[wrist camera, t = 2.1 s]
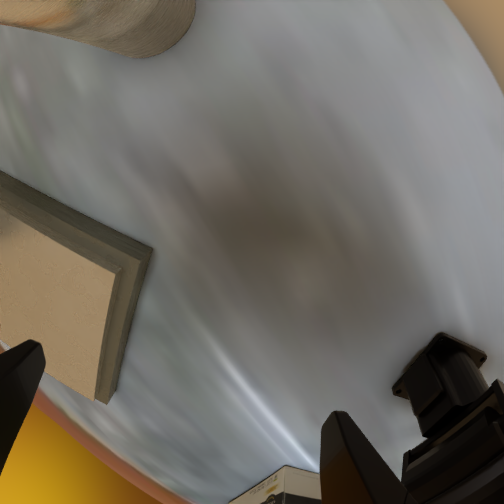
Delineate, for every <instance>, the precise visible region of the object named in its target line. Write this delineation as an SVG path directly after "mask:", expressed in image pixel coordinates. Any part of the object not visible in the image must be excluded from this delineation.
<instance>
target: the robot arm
mask: <svg viewBox="0 0 504 504" xmlns="http://www.w3.org/2000/svg"><path fill="white" fill-rule="evenodd" d="M441 339H442V340H441ZM440 340H441V341H440ZM486 359H487V355H486V354H485V353H484V352H483V351H481V350H478V349H476V348H474V347H472V346H470V345H468V344H466V343H464V342H462V341H459V340H457V339H455V338H453V337H451V336H449V335H447V334H445V333H440V334H438V335H437V336H436V337H435V338H434V340H433V341H432V342H431V343H430V345H429V346H428V347H427V348H426V350H425V351H424V352H423V353H422V355H421V356H420V357H419V358H418V359H417V360H416V362H415V363H414V364H413V365H412V366H411V367H410V369H409V370H408V371H407V372H406V373H405V374H404V375H403V377H402V378H401V379H400V380H399V381H398V382H397V383H396V384H395V385H394V386H393V388H392V392H393V395H395V396H398V397H402V398H405V399H408V400H410V403H411V406H412V410H413V413H414V415H415V416H416V417H417V420H418V423H419V427H420V430H421V433H422V436H423V437H426V438H427V439H426V440H425V441H424V442H422V443H421V444H419V445H418V446H416V447H415V448H413V449H412V450H409V451H407V452H406V453H404V454H403V467H402V478H401V482H400V480H399V479H398V478H397V477H396V475H395V474H394V473H393V471H392V470H391V469H390V468H389V466H388V465H387V464H386V462H385V461H384V460H383V459H382V457H381V456H380V455H379V453H378V452H377V451H376V450H375V448H374V447H373V446H372V444H371V443H370V442H369V441H368V439H367V438H366V437H365V435H364V434H363V433H362V431H361V430H360V429H359V428H358V426H357V425H356V424H355V422H354V421H353V420H352V418H351V417H350V416H349V414H348V413H347V412H345V411H333V412H332V413H331V414H330V415H329V417H328V418H327V420H326V421H325V423H324V424H323V426H322V429H321V450H320V486H321V501H322V504H504V384H503V383H502V382H501V381H500V380H498V379H496V380H495V381H494V382H493V383H492V384H491V385H492V386H490V387H488V385H487V383H486V381H485V380H484V378H483V376H482V374H481V373H480V371H479V368H480V367H481V366H482V364H483V363H484V362H485V361H486ZM45 366H46V359H45V355H44V351H43V347H42V344H41V343H40V342H37V341H35V340H33V339H28V340H26V341H24V342H22V343H21V344H19V345H17V346H15V347H13V348H11V349H9V350H7V351H5V352H3V353H2V354H0V475H1V472H2V470H3V467H4V465H5V462H6V460H7V458H8V455H9V453H10V450H11V448H12V446H13V443H14V441H15V439H16V437H17V434H18V432H19V430H20V428H21V426H22V423H23V421H24V419H25V417H26V415H27V413H28V411H29V409H30V406H31V404H32V401H33V399H34V396H35V393H36V390H37V388H38V385H39V382H40V380H41V377H42V375H43V372H44V369H45Z"/></svg>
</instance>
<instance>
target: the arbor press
mask: <svg viewBox="0 0 504 504" xmlns="http://www.w3.org/2000/svg"><path fill="white" fill-rule="evenodd" d="M152 250H153V249H152V248H150V247H148V246H146V245H144V244H142V243H140V242H137V241H135V240H133V239H131V238H129V237H127V236H125V235H123V234H121V233H119V232H117V231H115V230H113V229H111V228H109V227H107V226H105V225H103V224H101V223H99V222H97V221H95V220H93V219H91V218H89V217H87V216H85V215H83V214H81V213H79V212H77V211H75V210H73V209H71V208H69V207H67V206H66V205H64V204H62V203H60V202H58V201H56V200H54V199H52V198H50V197H48V196H46V195H44V194H43V193H41V192H39V191H37V190H35V189H33V188H31V187H29V186H27V185H26V184H24V183H22V182H20V181H18V180H16V179H15V178H13V177H11V176H9V175H7V174H5V173H4V172H2V171H0V339H1V340H2V341H3V342H5V343H6V344H7V345H8V346H10V347H11V348H13V347H15V346H17V345H19V344H21V343H22V342H24V341H26V340H28V339H33V340H35V341H37V342H40V343H41V344H42V347H43V351H44V355H45V359H46V366H45V369H44V371H45V372H46V373H48V374H49V375H51V376H52V377H54V378H55V379H57V380H59V381H60V382H62V383H63V384H65V385H67V386H68V387H70V388H71V389H73V390H75V391H76V392H78V393H80V394H82V395H83V396H85V397H87V398H88V399H90V400H92V401H94V400H95V399H97V400H99V401H101V402H103V403H104V404H106V405H107V404H108V403H109V401H110V399H111V397H112V396H113V394H114V392H115V391H116V386H117V381H118V377H119V372H120V368H121V363H122V359H123V355H124V350H125V346H126V342H127V338H128V334H129V330H130V326H131V322H132V319H133V315H134V311H135V307H136V304H137V300H138V297H139V293H140V290H141V286H142V283H143V279H144V276H145V272H146V269H147V266H148V263H149V259H150V256H151V253H152Z"/></svg>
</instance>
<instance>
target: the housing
mask: <svg viewBox="0 0 504 504" xmlns="http://www.w3.org/2000/svg"><path fill="white" fill-rule="evenodd" d="M194 14H195V0H0V24H1V25H7V26H12V27H18V28H23V29H28V30H33V31H38V32H42V33H47V34H51V35H55V36H59V37H63V38H67V39H71V40H75V41H78V42H82V43H86V44H89V45H92V46H96V47H99V48H102V49H106V50H109V51H112V52H115V53H118V54H121V55H124V56H127V57H131V58H147V57H152V56H155V55H158V54H160V53H162V52H164V51H166V50H167V49H169V48H170V47H172V46H173V45H174V44H176V43H177V42H178V41H179V40H180V39H181V38H182V37H183V36H184V34H185V33H186V32H187V30H188V28H189V27H190V25H191V23H192V20H193V18H194Z"/></svg>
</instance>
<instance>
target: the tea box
mask: <svg viewBox="0 0 504 504" xmlns="http://www.w3.org/2000/svg"><path fill="white" fill-rule="evenodd" d="M228 504H322V501H321V486H320V474H317V473H313V472H309V471H305V470H301V469H297V468H293V467H288V466H284V467H283V468H282V469H280V470H279V471H277V472H276V473H275V474H273V475H272V476H270V477H269V478H267V479H266V480H265V481H263V482H262V483H260V484H259V485H257V486H256V487H254V488H252V489H251V490H249V491H248V492H246V493H245V494H243V495H241V496H240V497H238V498H237V499H235V500H233V501H232V502H230V503H228Z"/></svg>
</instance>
